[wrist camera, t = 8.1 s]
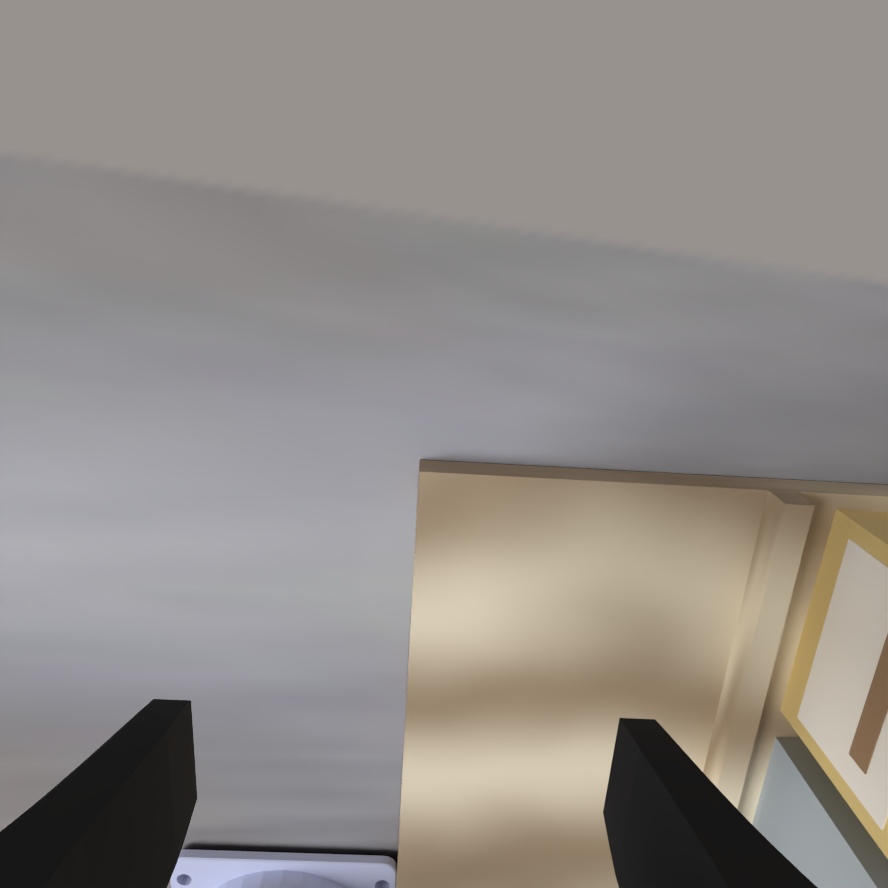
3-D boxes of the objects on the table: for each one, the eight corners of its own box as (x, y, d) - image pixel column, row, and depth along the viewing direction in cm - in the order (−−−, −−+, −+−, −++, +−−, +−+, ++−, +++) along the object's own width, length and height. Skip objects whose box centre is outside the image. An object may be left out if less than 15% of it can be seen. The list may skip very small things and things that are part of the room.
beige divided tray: (875, 885, 25) (915, 945, 23) (397, 871, 24) (393, 930, 22) (1014, 491, 20) (1082, 522, 18) (420, 459, 20) (418, 487, 17)
